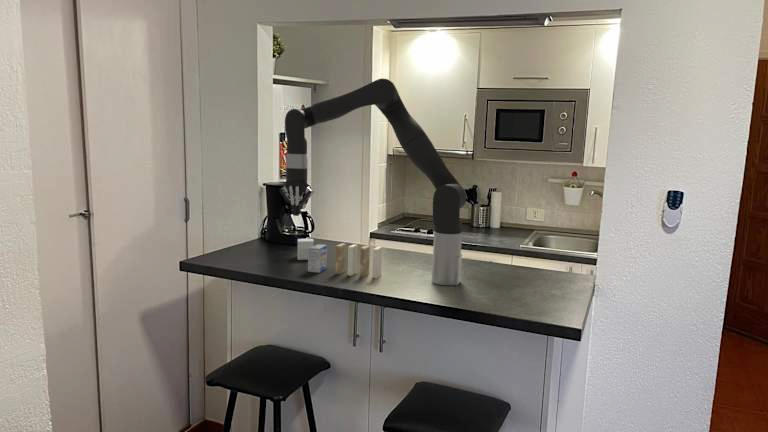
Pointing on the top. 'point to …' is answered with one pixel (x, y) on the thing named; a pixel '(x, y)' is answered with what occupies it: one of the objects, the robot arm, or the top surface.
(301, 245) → the skincare box
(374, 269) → the domino
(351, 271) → the domino
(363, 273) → the domino
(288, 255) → the top surface
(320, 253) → the medicine box
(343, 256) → the domino
